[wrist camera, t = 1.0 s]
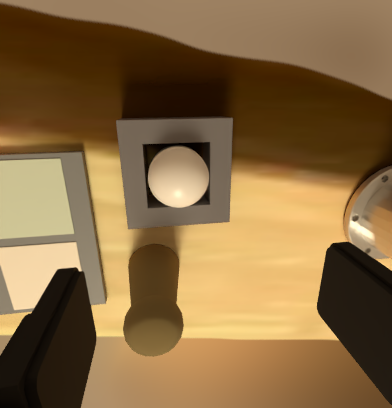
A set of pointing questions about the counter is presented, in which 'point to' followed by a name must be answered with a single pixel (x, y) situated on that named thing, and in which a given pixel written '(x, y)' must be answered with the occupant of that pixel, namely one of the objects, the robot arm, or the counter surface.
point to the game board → (45, 227)
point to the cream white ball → (178, 176)
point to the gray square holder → (175, 133)
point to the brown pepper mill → (153, 301)
